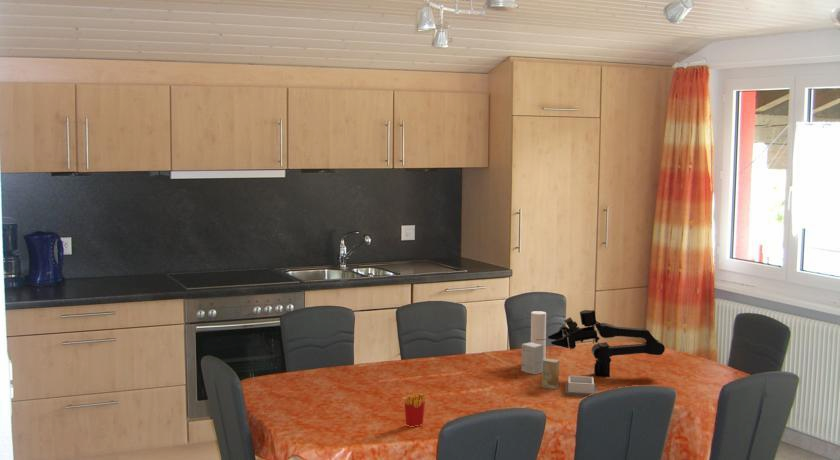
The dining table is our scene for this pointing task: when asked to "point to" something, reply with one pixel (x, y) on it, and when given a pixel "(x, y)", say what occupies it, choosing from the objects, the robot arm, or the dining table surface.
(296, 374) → the dining table surface
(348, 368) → the dining table surface
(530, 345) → the small box
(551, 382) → the skincare box
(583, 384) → the holder
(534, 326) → the cylindrical container
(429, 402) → the dining table surface
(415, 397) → the french fries
